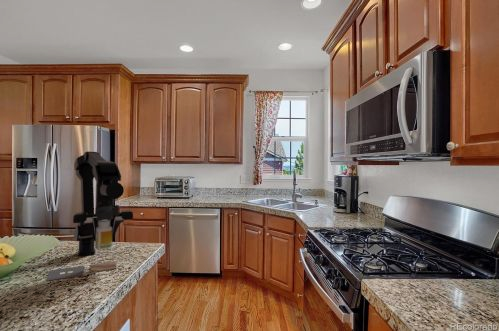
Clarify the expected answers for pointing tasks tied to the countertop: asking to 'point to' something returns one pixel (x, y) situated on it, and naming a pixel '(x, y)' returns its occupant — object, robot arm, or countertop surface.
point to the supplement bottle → (103, 235)
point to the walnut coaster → (103, 266)
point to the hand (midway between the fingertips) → (103, 240)
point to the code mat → (65, 273)
